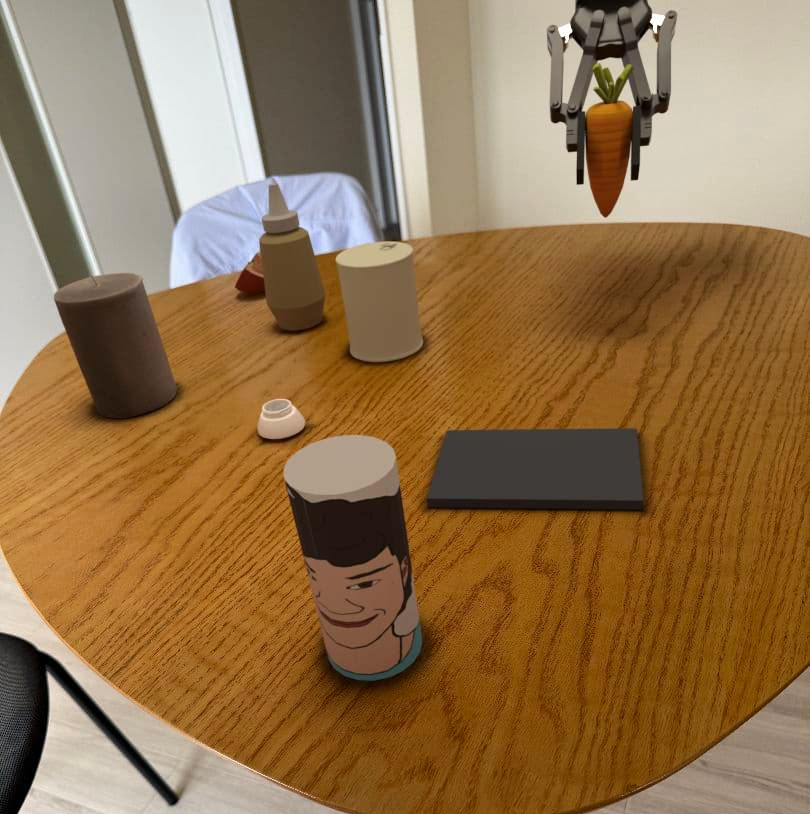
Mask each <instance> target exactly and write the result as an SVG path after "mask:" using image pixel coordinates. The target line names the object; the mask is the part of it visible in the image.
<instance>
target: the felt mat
mask: <svg viewBox="0 0 810 814" xmlns="http://www.w3.org/2000/svg"><path fill="white" fill-rule="evenodd" d="M443 438H444V439H443V442H442V444H441V449H440V452H439V457H438V459H437V462H436V466H435V470H434V473H433V476H432V480H431V483H430V486H429V490H428V493H427V496H426V503H427V508H433V509H434V508H435V509H436V508H437V509H438V508H442V509H443V508H445V509H446V508H447V509H522V510H523V509H525V510H526V509H529V510H530V509H531V510H532V509H533V510H534V509H535V510H608V511H609V510H611V511H612V510H614V511H615V510H617V511H618V510H620V511H627V510H628V511H643V510H644V503H645V499H644V490H643V479H642V478H643V477H642V466H641V457H640V456H641V455H640V445H639V434H638V428H637V427H630V428H629V427H628V428H627V427H623V428H621V427H619V428H618V427H617V428H614V427H613V428H611V427H610V428H544V429H543V428H533V429H532V428H528V429H526V428H525V429H524V428H521V429H515V428H514V429H446V431H445V435H444V437H443Z"/></svg>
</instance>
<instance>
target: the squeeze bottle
mask: <svg viewBox="0 0 810 814" xmlns="http://www.w3.org/2000/svg"><path fill="white" fill-rule="evenodd" d="M261 221H262V222H261V223H262V228H263V232H264V233H263V234H262V235H261V236H260V237H259V239H258V243H259V253H260V254H261V260H262V268H263V276H264V285H265V290H264V292H265V300H266V305H267V307H268V309H269V310H270V312H271V314H272V316H273V317H274V319H275V320H276V322H277V324H278V326H279V327H280V328H281V329H282V330H285V331H302V330H307V329H310V328H313V327H316V326H317V325H319V324H320V323H321V322H322V321H323V315H324V309H325V308H324V307H325V301H326V290H325V287H324V283H323V280H322V276H321V272H320V270H319V269H320V268H319V265H318V262H317V259H316V255H315V251H314V248H313V247H314V246H313V244H312V241H311V237H310V234H309V230H307V229H306V228H304V227H301V226H300V218H299V213H298V211H296V210H294V209H289V207H288V205H287V203H286V200H285V198H284V195H283V193H282V190H281V187H280V186H279V183H278V182H272V183H269V184H268V213H265V214H263V215H262V216H261Z"/></svg>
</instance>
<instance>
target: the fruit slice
mask: <svg viewBox="0 0 810 814" xmlns="http://www.w3.org/2000/svg"><path fill="white" fill-rule="evenodd" d="M234 288H235V289H236V290H238V291H239V292H241V293H242V294H248V295H255V294H256V295H257V294H260V293H263V292H265V285H264V276H263V268H262V260H261V252H260V251H259V252H258V251H257V252H256V253H255V254H254V256H253V257H252V258H251V260H250V261H248V262H247V263H246V265H245V266H244V267H243V270H242V271H241V272H240V275H239V277H238V279H237V281H236V282H235V285H234Z"/></svg>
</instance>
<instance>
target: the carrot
mask: <svg viewBox="0 0 810 814" xmlns="http://www.w3.org/2000/svg"><path fill="white" fill-rule="evenodd" d="M633 69H634V67H633V66H632V65H630V64H628V65H627V66H626V67H625V68H624V69H623V70H622V72H621V73H620V74H619V75H618V76H617V78H616V80H615V81H614V78H613V75H612V72H611V70H610V69H609V67H604V68H603V67H602V64H601V62H597V64H595V66H594V67H593V76H594V78H595V81H596V83H597V85H598V86H594V87H593V89H592V90H593V91H594V92H595V93H596V95H597V97H599V98H600V99H601V100H602V101H600V102H598V103H597V102H596V103H594V104H592V105H591V106H590V107H588V109H587V110H586V111H585V162H586V163H585V164H586V169H587V176H588V181H589V187H590V191H591V194H592V197H593V200H594V202H595V205H596V207H597V209H598V211H599V213H600V215H601V216H602V217H603V218H608V217H609V216H610V215H611V214H612V212H613V211H614V209H615V207H616V204H617V202H618V201H619V198H620V196H621V193H622V190H623V188H624V184H625V180H626V176H627V172H628V167H629V162H630V158H631V138H632V124H633V107H631V106H630V104H628V103H627V102H626V101H624V100H619V98H620V96H621V94H622V92H623V90H624V88H625V86H626V84H627V82H628V81H629V80H628V77H629V76H630V74H631V73H632V71H633Z"/></svg>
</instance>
